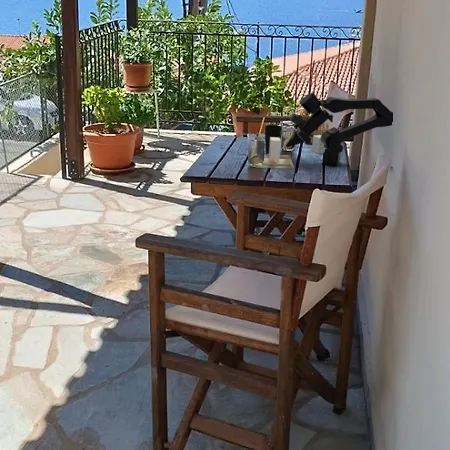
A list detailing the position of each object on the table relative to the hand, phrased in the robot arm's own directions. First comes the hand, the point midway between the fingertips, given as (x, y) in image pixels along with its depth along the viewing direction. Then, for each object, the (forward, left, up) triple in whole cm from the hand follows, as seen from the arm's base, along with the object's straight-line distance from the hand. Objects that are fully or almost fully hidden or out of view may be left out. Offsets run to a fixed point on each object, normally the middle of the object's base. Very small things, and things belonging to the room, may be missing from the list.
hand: (286, 146), depth 268 cm
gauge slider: (+3, +4, -6) cm, 8 cm away
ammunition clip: (+2, -41, -7) cm, 42 cm away
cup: (+12, -13, -7) cm, 19 cm away
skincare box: (-5, -29, -7) cm, 30 cm away
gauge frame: (+3, +5, -7) cm, 9 cm away
